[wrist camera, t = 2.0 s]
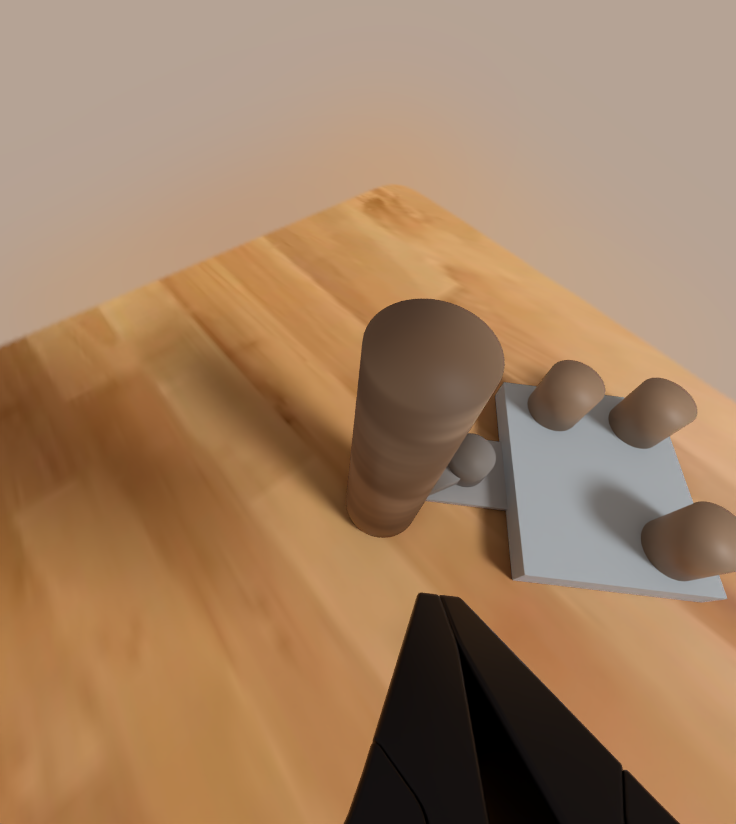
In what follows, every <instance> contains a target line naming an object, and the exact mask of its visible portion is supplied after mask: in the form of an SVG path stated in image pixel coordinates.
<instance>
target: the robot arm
mask: <svg viewBox="0 0 736 824" xmlns="http://www.w3.org/2000/svg"><path fill="white" fill-rule="evenodd" d="M344 824H680V823H679V822H678V821H677V820H676V819H675V818H674V817H673V816H672V815H671V814H670V813H669V812H668V811H667V810H666V809H665V808H664V807H663V806H662V805H661V804H660V803H659V802H658V801H657V800H656V799H655V798H654V797H653V796H652V795H651V794H650V793H649V792H648V791H647V790H646V789H645V788H644V787H643V786H642V785H641V784H640V783H639V782H638V781H637V780H636V779H635V778H634V776H633V775H632V774H631V773H630V772H629V771H627V770H623V768H622V765H621V763H620V762H619V761H618V760H617V759H616V758H615V757H614V756H613V755H612V754H611V753H610V752H609V751H608V750H607V749H606V748H605V747H604V746H603V745H602V744H601V743H600V742H599V741H598V740H597V738H596V737H595V736H594V735H593V734H592V733H591V732H590V731H589V730H588V729H587V728H586V727H585V726H584V725H583V724H582V723H581V722H580V721H579V720H578V719H577V718H576V717H575V716H574V715H573V714H572V713H571V712H570V711H569V710H568V708H567V707H566V706H565V705H564V704H563V703H562V702H561V701H560V700H559V699H558V698H557V697H556V696H555V695H554V694H553V693H552V692H551V691H550V690H549V689H548V688H547V687H546V686H545V685H544V684H543V683H542V682H541V681H540V680H539V679H538V677H537V676H536V675H535V674H534V673H533V672H532V671H531V670H530V669H529V668H528V667H527V666H526V665H525V664H524V663H523V662H522V661H521V660H520V659H519V658H518V657H517V656H516V655H515V654H514V653H513V652H512V651H511V650H510V649H509V647H508V646H507V645H506V644H505V643H504V642H503V641H502V640H501V639H500V638H499V637H498V636H497V635H496V634H495V633H494V632H493V631H492V630H491V629H490V628H489V627H488V626H487V625H486V624H485V623H484V622H483V621H482V620H481V619H480V617H479V616H478V615H477V614H476V613H475V612H474V611H473V610H472V609H471V608H470V607H469V606H468V605H467V604H466V603H465V602H464V601H463V600H462V599H461V598H459V597H454V596H446V595H440V596H438V595H436V594H429V593H419V594H418V595H417V598H416V601H415V604H414V608H413V611H412V614H411V617H410V621H409V624H408V627H407V630H406V634H405V637H404V640H403V643H402V647H401V650H400V653H399V656H398V660H397V663H396V666H395V669H394V673H393V676H392V679H391V682H390V686H389V689H388V692H387V695H386V699H385V702H384V705H383V708H382V712H381V715H380V718H379V721H378V725H377V728H376V731H375V734H374V738H373V743H372V744H371V746H370V750H369V753H368V756H367V759H366V763H365V766H364V769H363V772H362V775H361V778H360V781H359V784H358V787H357V790H356V792H355V795H354V798H353V801H352V804H351V807H350V810H349V813H348V815H347V817H346V820H345V822H344Z"/></svg>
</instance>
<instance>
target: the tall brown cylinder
mask: <svg viewBox="0 0 736 824" xmlns="http://www.w3.org/2000/svg"><path fill="white" fill-rule="evenodd" d="M504 366H505V364H504V354H503V350H502V347H501V344H500V342H499V340H498V338H497V337H496V335H495V334H494V332H493V331H492V330H491V329H490V328H489V326H488V325H487V324H486V323H485V322H483V321H482V320H481V319H480V318H479V317H477V316H476V315H474V314H473V313H471V312H470V311H468V310H466V309H464V308H462V307H460V306H457V305H454V304H452V303H448V302H445V301H440V300H435V299H411V300H405V301H401V302H398V303H395V304H392V305H390V306H388V307H386V308H385V309H383V310H381V311H380V312H379V313H378V314H376V315H375V316H374V318H373V319H372V320H371V321H370V323H369V324H368V326H367V328H366V330H365V332H364V336H363V342H362V352H361V361H360V371H359V380H358V390H357V399H356V409H355V419H354V428H353V438H352V447H351V457H350V466H349V476H348V486H347V495H346V507H347V511H348V514H349V516H350V518H351V520H352V521H353V523H354V524H355V525H356V526H357V527H358V528H359V529H360V530H361V531H363V532H364V533H366V534H368V535H371V536H374V537H381V538H385V537H392V536H395V535H398V534H399V533H401V532H403V531H404V530H405V529H406V528H407V527H409V525H410V524H411V523H412V521H413V519H414V518H415V516H416V515H417V513H418V512H419V510H420V508H421V507H422V505H423V504H424V502H425V500H426V499H427V497H428V496H430V495H432V494H435V493H437V492H439V491H442V490H444V489H446V488H448V487H451V486H453V485H455V484H456V485H458V486H461V487H473V486H476V485H477V484H479V483H480V482H481V481H482V480H483V479H484V478H485V476H486V475H487V474H488V473H489V472H490V471H491V470H492V468H493V467H494V465H495V462H496V455H495V451H494V449H493V447H492V445H491V444H490V443H489V442H488V441H487V440H486V439H484V438H483V437H481V436H479V435H476V434H471V433H468V432H469V431H470V429H471V427H472V426H473V424H474V423H475V421H476V419H477V418H478V416H479V415H480V413H481V412H482V410H483V408H484V407H485V405H486V404H487V402H488V400H489V399H490V397H491V396H492V394H493V392H494V391H495V389H496V388H497V386H498V384H499V383H500V381H501V379H502V376H503V372H504Z"/></svg>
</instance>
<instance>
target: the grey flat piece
mask: <svg viewBox="0 0 736 824" xmlns="http://www.w3.org/2000/svg"><path fill="white" fill-rule="evenodd" d="M495 400H496V411H497V421H498V432H499V442H498V441H490V440H487V441H488V442H489V443H490V444H491V445H492V447H493V449H494V451H495V455H496V462H495V465H494V467H493V468H492V470H491V471H490V472H489V473H488V474H487V475H486V476H485V478H484V479H483V480H482V481H481V482H480V483H479V484H477V485H476V486H473V487H461V486H458V485H456V484H455V485H453V486H451V487H448V488H446V489H444V490H442V491H439V492H437V493H435V494H432V495H430V496H428V497H427V499H426V500H425V501H430V502H439V503H447V504H455V505H463V506H472V507H480V508H488V509H496V510H505V511H506V518H507V529H508V540H509V551H510V562H511V572H512V580H516V581H524V582H533V583H541V584H550V585H558V586H567V587H575V588H584V589H592V590H601V591H609V592H618V593H626V594H635V595H643V596H652V597H660V598H669V599H677V600H686V601H694V602H708V601H716V600H723V599H727V596H726V594H725V591H724V588H723V585H722V582H721V580H720V577H719V575H721V574H726V573H732V572H736V516H734V515H733V514H732V513H731V512H729V511H728V510H726V509H725V508H723V507H721V506H719V505H716V504H714V503H710V502H696V503H693V501H692V498H691V495H690V492H689V490H688V487H687V484H686V481H685V478H684V475H683V473H682V470H681V467H680V464H679V461H678V459H677V456H676V453H675V450H674V447H673V444H672V442H671V439H670V436H671V435H672V434H674V433H675V432H677V431H679V430H680V429H682V428H683V427H685V426H686V425H688V424H690V423H691V422H693V421H694V420H695V418H696V416H697V406H696V403H695V401H694V400H693V398H692V397H691V395H690V394H689V393H688V392H687V391H686V390H685V389H683V388H682V387H681V386H679V385H678V384H676V383H674V382H672V381H669V380H667V379H663V378H650V379H647V380H645V381H644V382H643V383H642V384H641V385H639V386H638V387H637V388H636V389H635V390H634V391H632V392H631V393H630V394H629V395H628V396H627V397H626V398H624V397H616V396H608V395H605V385H604V382H603V380H602V379H601V377H600V376H599V374H598V373H597V372H596V371H594V370H593V369H592V368H591V367H589V366H587V365H585V364H583V363H581V362H578V361H573V360H564V361H560V362H557V363H556V364H555V365H554V366H553V367H552V368H551V369H550V371H549V372H548V373H547V374H546V376H545V377H544V378H543V379H542V381H541V382H540V383H539V385H538V386H530V385H522V384H514V383H506V382H504V383H503V384H502V386H501V387H500V389H499V390H498V392H497V393H496V395H495Z"/></svg>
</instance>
